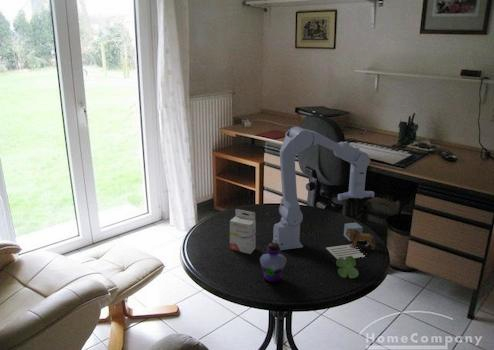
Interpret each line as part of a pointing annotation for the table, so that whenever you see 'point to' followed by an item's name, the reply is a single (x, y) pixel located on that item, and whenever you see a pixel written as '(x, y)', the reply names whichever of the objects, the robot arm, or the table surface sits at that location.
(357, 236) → the lion figurine
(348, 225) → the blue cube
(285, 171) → the robot arm
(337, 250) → the white slatted trivet
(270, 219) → the table surface
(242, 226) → the ink cartridge box
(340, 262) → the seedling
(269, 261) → the potion bottle
